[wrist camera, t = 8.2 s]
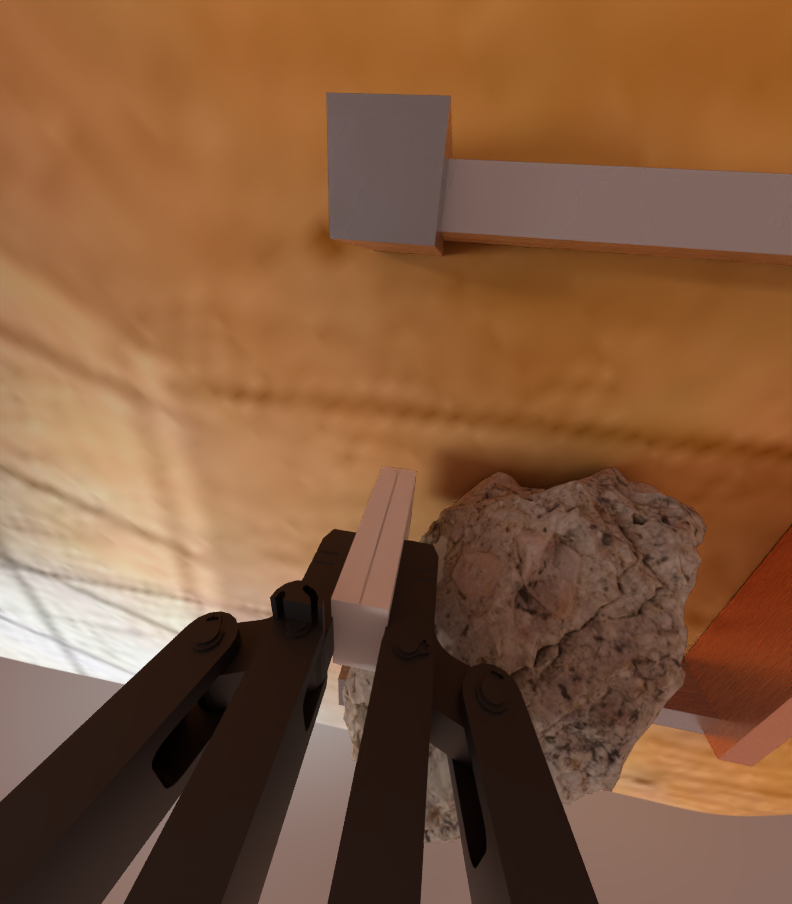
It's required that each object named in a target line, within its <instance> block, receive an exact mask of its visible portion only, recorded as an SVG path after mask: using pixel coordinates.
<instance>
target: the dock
mask: <svg viewBox="0 0 792 904" xmlns="http://www.w3.org/2000/svg"><path fill="white" fill-rule="evenodd" d="M327 137H328V187H329V237H330V239H334V240H337V241H341V242H345V243H348V244H352V245H356V246H360V247H363V248H367V249H371V250H374V251H384V252H398V253H411V254H424V255H437V256H443V249H444V241H454V242H469V243H483V244H497V245H511V246H525V247H539V248H554V249H568V250H582V251H596V252H610V253H624V254H638V255H653V256H667V257H681V258H695V259H709V260H723V261H738V262H752V263H766V264H780V265H792V174H780V173H757V172H735V171H713V170H691V169H669V168H646V167H624V166H602V165H580V164H558V163H536V162H513V161H491V160H469V159H453V153H452V124H451V96H439V95H399V94H360V93H327ZM681 665H682V669H683V670H684V672H685V673H686V674H685V678H684V682H683V686H681V687H680V688H679V690H678V691H677V692H676V693H675V694H674V695H673V696H672V697H671V698H670V699H669V700H668V701H667V702H666V704H665V706H664V707H663V709H662V710H661V712H660V713H659V715H658V716H657V718H656V719H655V721H654V722H653V724H658V725H662V726H667V727H672V728H677V729H682V730H687V731H691V732H696V733H701V734H705V736H706V738H707V740H708V742H709V743H710V745H711V747H712V749H713V751H714V753H715V755H716V757H717V758H718V759H720V760H725V761H729V762H734V763H739V764H743V765H748V766H753V765H755V764H756V763H757V762H759V761H760V760H761V759H763V758H764V757H765V756H767V755H768V754H769V753H771V752H772V751H773V750H775V749H776V748H777V747H779V746H780V745H781V744H783V743H784V742H785V741H787V740H788V739H789V738H791V737H792V526H791V527H790V529H789V530H788V531H787V532H786V534H785V535H784V536H783V537H782V538H781V540H780V541H779V542H778V543H777V545H776V546H775V547H774V548H773V549H772V551H771V552H770V553H769V554H768V556H767V557H766V558H765V559H764V560H763V562H762V563H761V564H760V565H759V567H758V568H757V569H756V570H755V571H754V573H753V574H752V575H751V576H750V578H749V579H748V580H747V581H746V583H745V584H744V585H743V586H742V587H741V589H740V590H739V591H738V592H737V594H736V595H735V596H734V597H733V598H732V600H731V601H730V602H729V603H728V605H727V606H726V607H725V608H724V609H723V611H722V612H721V613H720V614H719V616H718V617H717V618H716V619H715V620H714V622H713V623H712V624H711V625H710V627H709V628H708V629H707V630H706V631H705V633H704V634H703V635H702V636H701V638H700V639H699V640H698V641H697V642H696V644H695V645H694V646H693V647H692V649H691V650H690V651H689V652H688V653H687V655H686V656H685V657H684V658H683V659H682V661H681ZM350 668H351V667H350V666H345V665H342V668H341V672H340V675H339V678H338V683H339V705H343V706H345V705H344V700H343V689H344V686H345V682H346V679H347V676H348V674H349V671H350Z"/></svg>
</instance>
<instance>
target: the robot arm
mask: <svg viewBox="0 0 792 904" xmlns="http://www.w3.org/2000/svg"><path fill="white" fill-rule="evenodd" d="M416 472H417V471H413V470H406V469H400V468H393V467H386V466H382V468H381V470H380V473H379V475H378V478H377V481H376V483H375V486H374V488H373V491H372V494H371V496H370V499H369V501H368V504H367V507H366V509H365V512H364V514H363V517H362V520H361V522H360V525H359V527H358V530H357V533H355V532H349V531H343V530H337V529H334V530H332V531H331V532H330V533H329V534H328V535H326V536H325V537H324V538H323V540H322V542H321V544H320V546H319V548H318V550H317V552H316V554H315V556H314V558H313V560H312V562H311V564H310V566H309V568H308V570H307V572H306V574H305V576H304V578H303V580H302V581H293V582H289V583H286V584H284V585H283V586H281V587H280V588H278V589H277V590H276V591H275V592H274V593H273V595H272V596H271V597H270V600H271V606H272V612H273V616H272V617H270V618H267V619H263V620H257V621H249V622H240V623H237V621H236V619H235V618H234V617H233V616H232V615H231V614H229V613H225V612H221V611H220V612H212V613H208V614H206V615H203V616H201V617H198V618H197V619H196V620H194V621H193V622H192V623H190V624H189V625H188V626H187V627H186V628H184V629H183V630H182V631H181V632H180V633H179V634H178V635H177V636H176V637H175V638H174V639H173V640H172V641H171V642H170V643H169V644H167V645H166V646H165V647H164V648H163V649H162V650H161V651H160V652H159V653H158V654H157V655H156V656H155V657H154V658H153V659H152V660H151V661H149V662H148V663H147V664H146V665H145V666H144V667H143V668H142V669H141V670H140V671H139V672H138V673H137V674H136V675H135V676H134V677H132V678H131V679H130V680H129V681H128V682H127V683H126V684H125V685H124V686H123V687H122V688H121V689H120V690H119V691H118V692H117V693H115V694H114V695H113V696H112V697H111V698H110V699H109V700H108V701H107V702H106V703H105V704H104V705H103V706H102V707H101V708H100V709H99V710H97V711H96V712H95V713H94V714H93V715H92V716H91V717H90V718H89V719H88V720H87V721H86V722H85V723H84V724H83V725H81V727H79V728H78V729H77V730H76V731H75V732H74V733H73V734H72V735H71V736H70V737H69V738H68V739H67V740H66V741H64V742H63V743H62V744H61V745H60V746H59V747H58V748H57V749H56V750H55V751H54V752H53V753H52V754H51V755H50V756H49V757H48V758H46V760H44V761H43V763H41V764H40V765H39V766H38V767H37V768H36V769H35V770H34V771H33V772H32V773H31V774H30V775H28V776H27V777H26V778H25V779H24V780H23V781H22V782H21V783H20V784H19V785H18V786H17V787H16V788H15V789H14V790H12V791H11V793H9V794H8V795H7V796H6V797H5V798H4V799H3V800H2V801H1V802H0V904H101V903H102V902H103V900H104V899H105V898H106V896H107V895H108V893H109V892H110V891H111V889H112V888H113V887H114V885H115V884H116V882H117V881H118V880H119V878H120V877H121V876H122V874H123V873H124V872H125V870H126V869H127V867H128V866H129V865H130V863H131V862H132V861H133V859H134V858H135V856H136V855H137V854H138V852H139V851H140V850H141V848H142V847H143V845H144V844H145V843H146V841H147V840H148V839H149V837H150V836H151V834H152V833H153V832H154V830H155V829H156V828H157V826H158V825H159V823H160V822H161V821H162V819H163V818H164V817H165V815H166V814H167V812H168V811H169V810H170V808H171V807H172V805H173V804H174V803H175V801H176V800H177V799H178V797H179V796H180V795H181V796H180V798H179V800H178V801H177V803H176V805H175V807H174V809H173V811H172V813H171V815H170V817H169V819H168V820H167V822H166V824H165V826H164V828H163V830H162V832H161V834H160V836H159V838H158V839H157V842H156V843H155V845H154V847H153V849H152V851H151V853H150V855H149V856H148V859H147V861H146V862H145V864H144V867H143V868H142V870H141V872H140V874H139V875H138V878H137V879H136V881H135V883H134V885H133V887H132V889H131V891H130V893H129V894H128V896H127V898H126V900H125V902H124V904H258V902H259V899H260V895H261V892H262V889H263V886H264V882H265V879H266V876H267V873H268V870H269V867H270V863H271V860H272V857H273V854H274V851H275V847H276V845H277V841H278V838H279V835H280V832H281V829H282V825H283V822H284V819H285V816H286V812H287V810H288V806H289V803H290V800H291V797H292V794H293V790H294V787H295V784H296V781H297V778H298V775H299V771H300V768H301V765H302V762H303V759H304V755H305V752H306V749H307V746H308V743H309V739H310V736H311V733H312V730H313V727H314V724H315V720H316V717H317V714H318V711H319V708H320V704H321V701H322V698H323V695H324V692H325V689H326V684H327V677H328V676H327V670H328V667H329V664H330V661H331V658H332V655H333V663H335V664H340V665H345V666H350V667H355V668H359V669H364V670H369V671H374V672H375V675H374V680H373V684H372V689H371V694H370V699H369V704H368V709H367V714H366V719H365V723H364V728H363V733H362V738H361V743H360V748H359V753H358V758H357V763H356V767H355V772H354V777H353V782H352V787H351V792H350V797H349V802H348V807H347V812H346V816H345V821H344V826H343V831H342V836H341V841H340V846H339V851H338V856H337V861H336V865H335V870H334V875H333V880H332V885H331V890H330V895H329V899H328V904H420V900H421V883H422V865H423V848H424V831H425V813H426V796H427V779H428V762H429V744H430V743H431V744H432V745H433V746H435V747H436V748H438V749H439V750H441V751H442V752H444V753H445V754H446V755H447V759H448V765H449V771H450V777H451V783H452V789H453V795H454V801H455V807H456V813H457V819H458V825H459V830H460V836H461V842H462V848H463V854H464V860H465V866H466V872H467V878H468V884H469V890H470V896H471V901H472V904H598V901H597V898H596V895H595V892H594V890H593V887H592V884H591V882H590V879H589V876H588V874H587V871H586V868H585V865H584V863H583V860H582V857H581V854H580V852H579V849H578V846H577V843H576V841H575V838H574V835H573V833H572V830H571V827H570V824H569V822H568V819H567V816H566V813H565V811H564V808H563V805H562V803H561V800H560V797H559V794H558V792H557V789H556V786H555V783H554V781H553V778H552V775H551V773H550V770H549V767H548V764H547V762H546V759H545V756H544V753H543V751H542V748H541V745H540V743H539V740H538V737H537V734H536V732H535V729H534V726H533V724H532V721H531V718H530V715H529V713H528V710H527V707H526V704H525V702H524V699H523V696H522V694H521V691H520V689H519V688H518V686H517V684H516V682H515V680H514V679H513V678H512V677H511V676H510V675H509V674H508V673H507V672H506V671H505V670H503V669H501V668H499V667H497V666H495V665H492V664H486V663H482V664H478V665H474V666H473V667H470V666H469V665H467V664H465V663H463V662H461V661H460V660H458V659H456V658H455V657H453V656H452V655H450V654H449V653H448V652H447V651H446V650H445V649H444V648H443V647H442V646H441V644H440V642H439V641H438V639H437V636H436V633H435V625H434V624H435V608H436V592H437V576H438V559H439V556H438V554H437V552H436V550H435V547H434V545H433V544H427V543H421V542H415V541H409V540H407V539H408V534H409V528H410V523H411V515H412V506H413V498H414V489H415V481H416ZM181 793H182V794H181Z"/></svg>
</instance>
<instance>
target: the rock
mask: <svg viewBox="0 0 792 904" xmlns="http://www.w3.org/2000/svg"><path fill="white" fill-rule="evenodd" d="M706 530H707V527H706V525H705V524H704V521H703V519H702V517H701V516H700V515H699V514H698V513H697V512H696V511H695V510H694V509H693V508H692V507H690V506H688V505H685V504H683V503H681V502H679V501H678V499H675V498H672V497H669V496H666V495H663V494H662V493H661V492H660V491H658V490H657V489H656V488H655V487H654V486H652V485H649V484H645V483H641V482H629V481H628V480H627V479H626V478H625V476H624V475H623V474H622V473H621V472H620V471H619V470H618V469H617V468H606V469H603V470H601V471H599V472H597V473H595V474H593V475H591V476H590V477H585V478H583V479H580V480H575V481H571V482H567V483H564V484H561V485H557V486H553V487H551V488H549V489H547V490H545V489H535V488H528V487H520V486H519V484H518V483H517V482H516V481H515V480H514V479H513V478H512V477H511V476H510V475H509V474H506V473H502V472H497V473H495V474H493V475H491V476H490V477H488V478H486V479H484V480H483V481H481V482H480V483H479V484H477V485H476V486H475V487H474V488H472V489H471V490H470V491H469V492H467V493H466V494H465V495H464V496H463V497H461V498H460V499H459V500H458V501H457V502H456V503H455V504H454V505H452V506H451V507H449V508H446V509H444V511H442V512H441V514H440V517H439V519H438V520H437V521H434V522H433V523H432V525H431V526H430V528H429V531H428V532H427V533H426V534H425V535H424V536H423V537H422V538H421V540H420V542H421V543H427V544H433V545H434V547H435V550H436V552H437V554H438V556H439V559H438V576H437V592H436V608H435V624H434V625H435V633H436V636H437V639H438V641H439V642H440V644H441V646H442V647H443V648H444V649H445V650H446V651H447V652H448V653H449V654H450V655H452V656H453V657H455V658H456V659H458V660H460V661H461V662H463V663H465V664H467V665H469V666H470V667H473V666H474V665H478V664H482V663H486V664H492V665H495V666H497V667H499V668H501V669H503V670H505V671H506V672H507V673H508V674H509V675H510V676H511V677H512V678H513V679H514V680H515V682H516V684H517V686H518V688H519V689H520V691H521V694H522V696H523V699H524V702H525V704H526V707H527V710H528V713H529V715H530V718H531V721H532V724H533V726H534V729H535V732H536V734H537V737H538V740H539V743H540V745H541V748H542V751H543V753H544V756H545V759H546V762H547V764H548V767H549V770H550V773H551V775H552V778H553V781H554V783H555V786H556V789H557V792H558V794H559V797H560V800H561V803H562V804H571V803H573V802H574V801H576V800H578V799H579V798H580V797H582V796H584V795H585V794H593V793H595V792H598V791H600V790H603V791H610V792H612V790H613V788H614V786H615V785H616V783H617V781H618V780H619V778H620V774H621V771H622V767H623V764H624V762H625V761H626V759H627V757H628V755H629V753H630V752H631V750H632V748H633V746H634V744H635V743H636V742H637V740H638V739H639V738H640V737H641V736H642V735H643V733H644V732H645V731H646V730H647V729H648V728H649V726H650V725H651V724H652V723H653V722H654V721H655V719H656V718H657V716H658V715H659V713H660V712H661V710H662V709H663V707H664V706H665V704H666V702H667V701H668V700H669V699H670V698H671V697H672V696H673V695H674V694H675V693H676V692H677V691H678V690H679V688H680V687H681V686H683V682H684V678H685V674H686V673H685V672H684V670H683V669H682V665H681V661H682V659H683V656H684V653H685V650H686V647H687V637H688V630H687V628H686V625H685V623H684V606H685V603H686V600H687V597H688V595H689V593H690V592H691V591H692V589H693V588H694V587H695V584H696V576H697V570H698V568H699V566H700V564H701V562H702V560H701V558H700V556H699V554H698V552H697V550H696V547H697V546H698V545H700V544H701V543H702V542H703V535H704V533H705V532H706ZM374 675H375V672H374V671H369V670H364V669H359V668H355V667H351V668H350V671H349V674H348V676H347V679H346V682H345V686H344V689H343V700H344V705H345V713H344V717H343V719H344V721H345V722H346V725H347V728H348V731H349V734H350V737H351V740H352V743H353V755H352V761H356V762H357V758H358V753H359V748H360V743H361V738H362V733H363V728H364V723H365V719H366V714H367V709H368V704H369V699H370V694H371V689H372V684H373V680H374ZM460 837H461V836H460V830H459V825H458V819H457V813H456V807H455V801H454V795H453V789H452V783H451V777H450V771H449V765H448V759H447V755H446V754H445V753H444V752H442V751H441V750H439V749H438V748H436V747H435V746H433V745H432V744H431V743H430V744H429V762H428V779H427V796H426V813H425V831H424V843H429V844H431V843H443V842H453V841H454V840H457V839H459V838H460Z"/></svg>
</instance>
